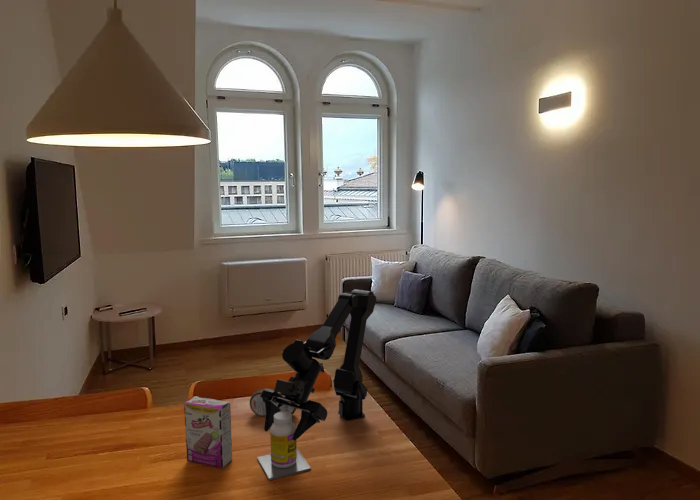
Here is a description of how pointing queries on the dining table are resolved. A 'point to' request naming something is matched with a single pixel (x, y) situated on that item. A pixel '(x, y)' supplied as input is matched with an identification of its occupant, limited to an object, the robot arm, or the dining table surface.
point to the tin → (260, 407)
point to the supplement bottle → (283, 440)
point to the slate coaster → (277, 472)
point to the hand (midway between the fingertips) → (279, 435)
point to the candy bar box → (208, 431)
